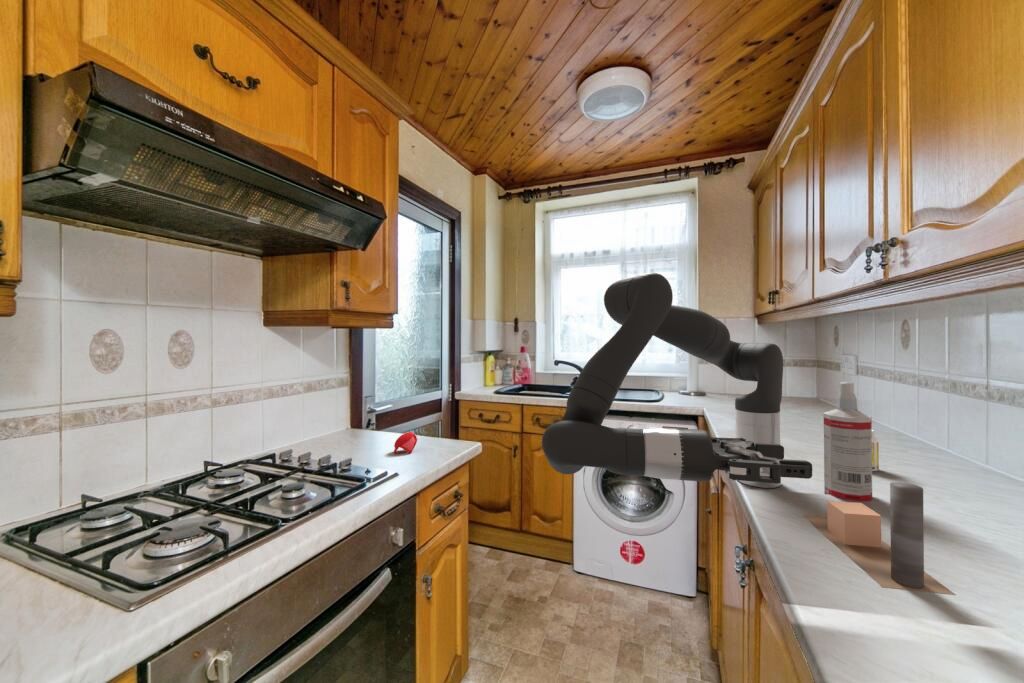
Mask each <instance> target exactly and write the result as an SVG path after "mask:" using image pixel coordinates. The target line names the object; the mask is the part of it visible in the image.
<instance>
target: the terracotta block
mask: <svg viewBox="0 0 1024 683" xmlns="http://www.w3.org/2000/svg"><path fill="white" fill-rule="evenodd" d="M826 501H827V503H826V507H827V512H826V513H827V514H826V515H827V516H826V517H827V521H828V530H829V531H830V532H831V533H832V534H833V535H834V536H835V537H837V538H838V539H839V540H840V541H841V542H842V543H844V544H846V545H858V546H870V547H881V540H882V515H880V514H879V513H878V512H876V511H874V510H873V509H872V508H870V507H869V506H867V505H865V504H864V503H862V502H855V501H854V502H851V501H838V500H837V501H835V500H826Z"/></svg>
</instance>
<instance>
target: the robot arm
mask: <svg viewBox="0 0 1024 683" xmlns="http://www.w3.org/2000/svg"><path fill="white" fill-rule="evenodd" d="M673 298H674V297H673V290H672V286H671V284H670V282H669V280H668V279H667V278H666V277H665V276H664V275H662V274H660V273H657V272H647V273H643V274H641V273H640V274H637V275H633V276H629V277H625V278H621V279H619V280H617V281H615V282H613V283H611V285H609V286H608V287H607V289H606V290H605V292H604V296H603V303H604V308H605V310H606V313H607V314H608V316H610V318H611V319H613V321H614V322H616V323H617V324H619V325H620V326H621V327H620V328H619V329H618V330H617V331H616V333H614V334H613V336H612V337H611V338H610V339H609V340H608V341H607V342H606V343H604V345H602V346H601V347H600V348H599V349H598V350H597V351H596V352H595V353H594V354H593V355H592V357H590V359H589V360H588V361H587V362H586V364H585V365H584V366H583V368H582V370H581V371H580V373H579V375H578V377H577V379H576V380H575V383H574V384H573V386H572V389H571V390H570V392H569V394H568V396H567V397H568V398H567V400H566V408H565V411H564V412H565V413H564V414H563V416H562V419H561V420H560V421H556V422H554V423H552V424H551V425H549V426H548V427H547V428H546V429H545V430H544V433H543V435H542V438H541V447H542V451H543V454H544V456H545V458H546V460H547V462H548V463H549V466H551V468H552V469H554V470H555V471H556V472H557V473H560V474H562V475H572V474H576V473H577V472H579V471H581V470H582V469H583V468H584V467H590V468H599V469H600V468H601V469H605V470H607V471H608V472H611V473H612V474H618V475H626V476H637V477H640V476H641V477H643V476H644V477H648V478H649V477H650V478H654V479H659V480H672V481H673V480H674V481H675V480H676V481H689V482H699V483H700V482H703V483H708V482H711V481H712V479H713V477H714V472H715V471H717V470H719V471H724V472H725V474H728V478H729V480H732V481H738V482H740V483H742V484H745V485H747V486H750V487H751V486H752V487H756V488H764V489H765V488H766V489H767V488H768V489H773V488H779V487H781V485H782V478H789V479H790V478H792V479H808V480H809V479H811V478H812V477H813V463H812V462H810V461H808V460H804V459H801V460H800V459H786V458H785V447H784V446H783V445H782V443H781V442H782V441H781V440H782V438H781V403H782V397H783V378H784V376H783V375H784V356H783V353H782V350H781V348H780V347H779V346H778V345H777V344H775V343H770V342H767V343H766V342H737V341H736V342H735V341H733V340H731V334H730V331H729V329H728V327H727V326H726V325H725V323H723V322H722V321H721V320H719V319H717V318H715V317H714V316H713V315H711V314H709V313H707V312H704V311H702V310H700V309H696V308H690V307H686V306H681V305H674V304H673ZM653 336H654V337H655V338H657V339H659V340H662V341H663V342H665V343H667V344H669V345H672V346H674V347H675V348H677V349H680V350H681V351H683V352H685V353H687V354H689V355H691V356H693V357H696V358H698V359H700V360H703V361H705V362H707V363H710V364H712V365H714V366H716V367H717V368H719V369H720V370H722V371H723V372H725V373H726V374H728V376H730V377H732V378H734V379H737V380H739V381H746V382H756V389H755V390H753V391H752V392H749V393H747V394H741V395H738V396H736V397H735V399H734V407H735V409H734V414H735V416H734V420H735V421H734V422H735V427H734V428H735V437H714V436H711V435H710V434H709V432H708V431H707V430H706V429H697V428H695V429H694V428H692V429H691V428H672V427H671V428H670V427H669V428H668V427H655V428H654V427H653V428H630V427H629V428H628V427H615V428H614V427H609V426H605V425H602V424H603V422H604V420H605V418H606V416H607V415H608V413H609V410H610V409H611V407H612V404H613V402H614V400H615V398H616V397H617V394H618V392H619V390H620V388H621V386H622V384H623V382H624V380H625V379H626V376H627V375H628V373H629V372H630V370H631V368H632V367H633V365H634V363H635V362H636V360H637V359H638V358H639V356H640V355H641V353H643V350H644V349H645V348H646V347H647V346H648V343H649V342H650V341H651V339H652V338H653Z"/></svg>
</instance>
